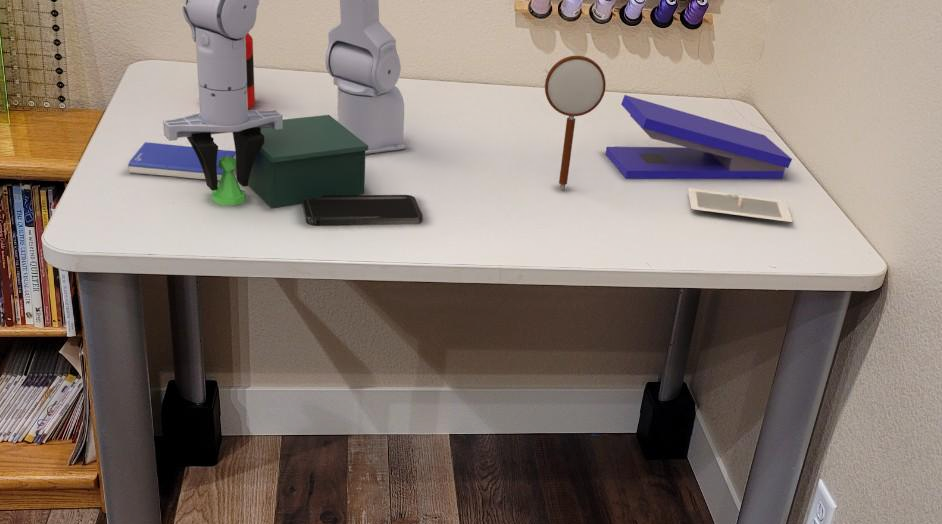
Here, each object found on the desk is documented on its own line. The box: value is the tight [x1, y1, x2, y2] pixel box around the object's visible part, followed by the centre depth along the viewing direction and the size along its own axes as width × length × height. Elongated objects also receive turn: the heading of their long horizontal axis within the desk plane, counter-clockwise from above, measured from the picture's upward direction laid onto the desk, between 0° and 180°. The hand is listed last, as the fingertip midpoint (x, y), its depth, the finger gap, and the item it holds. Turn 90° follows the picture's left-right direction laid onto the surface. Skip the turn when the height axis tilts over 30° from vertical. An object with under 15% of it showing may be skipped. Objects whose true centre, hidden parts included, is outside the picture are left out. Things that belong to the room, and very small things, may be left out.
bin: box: [247, 151, 366, 209], centre depth 142 cm, size 11×13×7 cm
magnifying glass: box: [544, 55, 607, 191], centre depth 149 cm, size 9×2×20 cm, turn 100°
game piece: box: [211, 156, 246, 206], centre depth 136 cm, size 4×4×6 cm
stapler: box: [605, 94, 793, 180], centre depth 167 cm, size 12×28×10 cm, turn 107°
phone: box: [302, 194, 423, 227], centre depth 139 cm, size 8×1×15 cm
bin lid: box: [259, 114, 368, 163], centre depth 140 cm, size 12×13×1 cm
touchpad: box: [687, 187, 793, 223], centre depth 155 cm, size 8×15×2 cm, turn 88°
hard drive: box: [127, 141, 236, 181], centre depth 144 cm, size 2×8×12 cm
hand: (227, 185), depth 136 cm, fingers open, 3 cm apart
